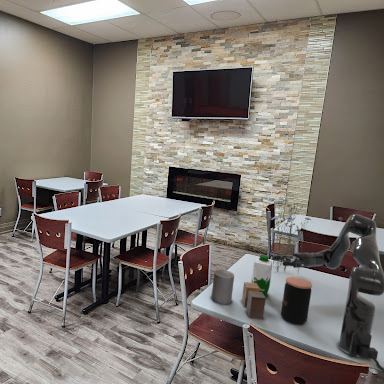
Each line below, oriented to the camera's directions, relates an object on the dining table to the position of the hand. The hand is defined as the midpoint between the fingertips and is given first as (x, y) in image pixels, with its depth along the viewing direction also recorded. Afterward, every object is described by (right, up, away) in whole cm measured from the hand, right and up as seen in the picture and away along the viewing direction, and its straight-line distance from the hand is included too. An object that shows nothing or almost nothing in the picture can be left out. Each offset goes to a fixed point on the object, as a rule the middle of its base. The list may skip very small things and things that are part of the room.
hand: (277, 260), depth 174 cm
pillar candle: (-31, -18, -8) cm, 37 cm away
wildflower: (+19, -14, +37) cm, 44 cm away
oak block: (-19, -19, -11) cm, 29 cm away
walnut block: (-20, -20, -21) cm, 35 cm away
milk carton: (-9, -18, +1) cm, 20 cm away
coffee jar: (-3, -22, -23) cm, 32 cm away
